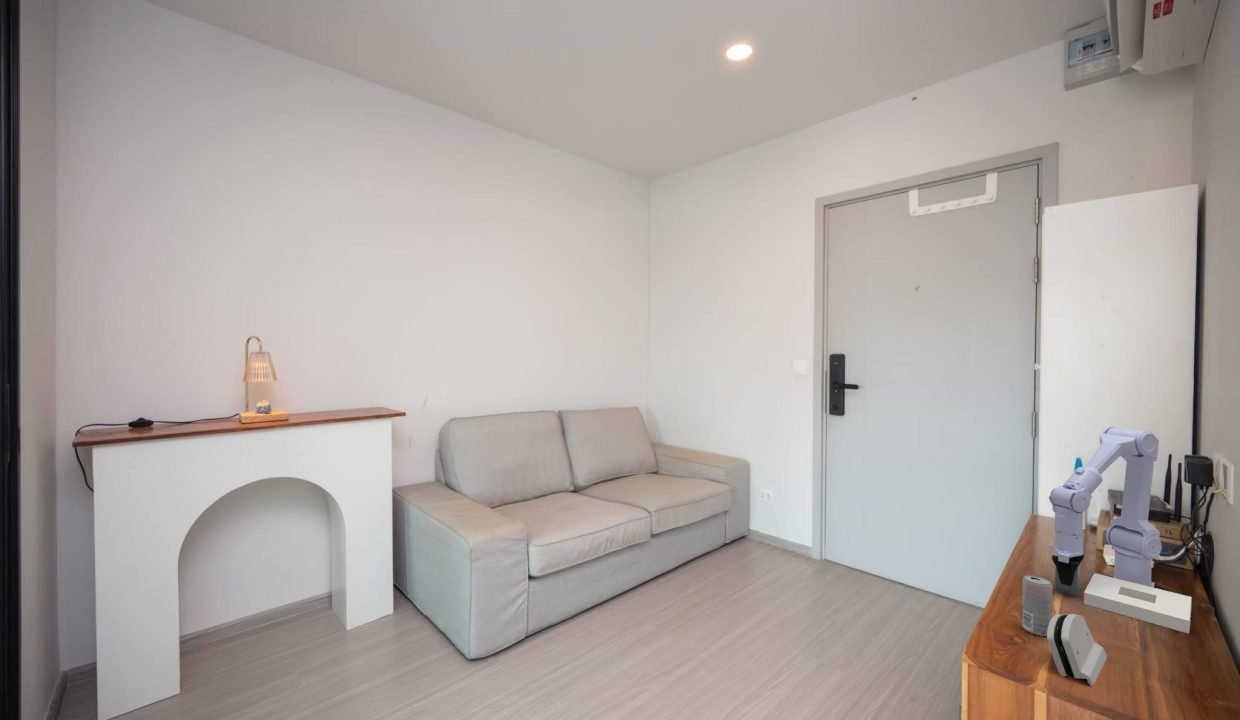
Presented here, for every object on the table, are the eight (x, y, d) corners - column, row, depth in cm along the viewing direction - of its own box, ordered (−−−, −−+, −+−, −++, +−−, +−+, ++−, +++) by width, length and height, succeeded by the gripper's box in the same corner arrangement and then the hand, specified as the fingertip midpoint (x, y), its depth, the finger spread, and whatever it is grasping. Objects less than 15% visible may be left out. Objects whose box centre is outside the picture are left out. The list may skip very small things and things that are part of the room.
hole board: (1094, 583, 141) (1094, 573, 141) (1191, 608, 127) (1191, 597, 127) (1083, 603, 129) (1084, 592, 129) (1189, 633, 115) (1189, 620, 115)
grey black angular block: (1093, 688, 96) (1070, 632, 99) (1062, 684, 100) (1041, 630, 102) (1107, 656, 107) (1086, 606, 109) (1079, 653, 110) (1059, 605, 113)
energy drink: (1045, 627, 118) (1045, 576, 118) (1056, 639, 113) (1057, 586, 113) (1017, 622, 120) (1018, 573, 119) (1027, 634, 115) (1028, 582, 114)
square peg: (1058, 586, 139) (1058, 557, 139) (1080, 591, 136) (1080, 562, 136) (1055, 590, 136) (1055, 561, 136) (1077, 597, 133) (1077, 567, 133)
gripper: (1054, 522, 144) (1053, 569, 144) (1043, 533, 134) (1043, 584, 134) (1088, 529, 138) (1087, 578, 138) (1079, 541, 129) (1078, 593, 129)
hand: (1067, 581), depth 136 cm, fingers open, 5 cm apart
